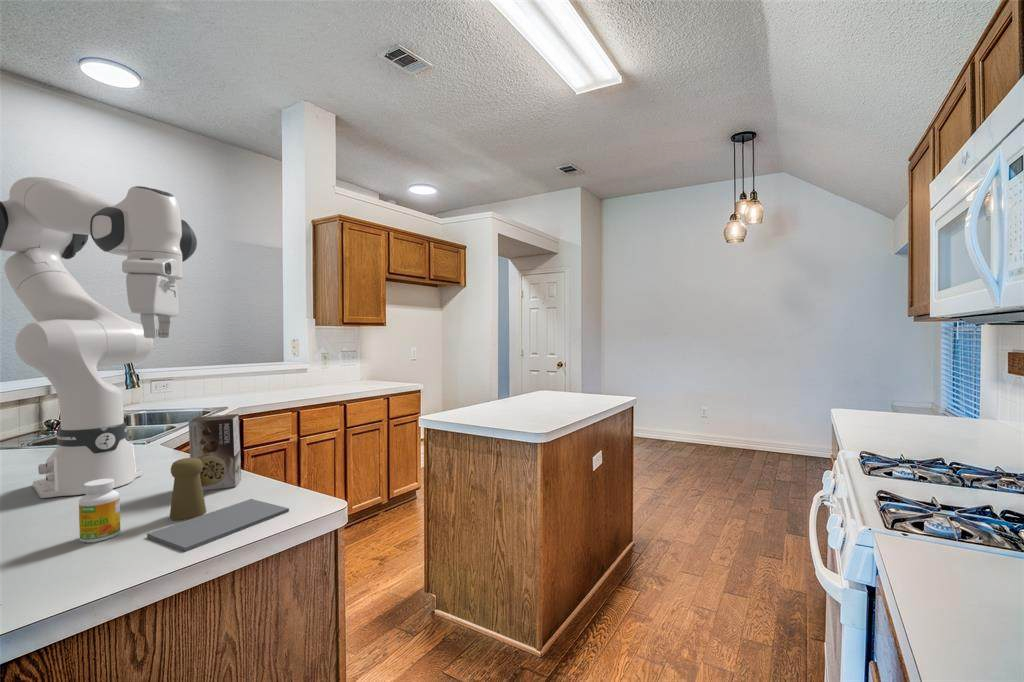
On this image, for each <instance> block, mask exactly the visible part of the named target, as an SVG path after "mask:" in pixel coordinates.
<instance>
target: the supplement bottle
mask: <svg viewBox="0 0 1024 682" xmlns="http://www.w3.org/2000/svg"><path fill="white" fill-rule="evenodd" d="M84 493H86V494H84V495H83V496H82V497H80V499H79V501H78V516H79V517H78V521H79V540H80V542H82V543H84V542H87V544H90V543H89V542H93V543H97V542H98V541H99V542H101V541H102V540H103V541H106V539H107V540H110V539H112V538H115V537H116V536H118V535H119V534H120V532H121V507H120V506H121V502H120V501H121V499H120V493H119V491H117V490H115V488H114V479H98V480H94V481H90V482H87V483H85V484H84ZM114 536H115V537H114ZM109 538H110V539H109ZM103 541H102V542H103Z"/></svg>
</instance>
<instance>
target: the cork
mask: <svg viewBox="0 0 1024 682" xmlns="http://www.w3.org/2000/svg"><path fill="white" fill-rule="evenodd" d="M202 469H203V463H202V461H201V460H200V459H198V458H190V457H186V458H185V457H184V458H181V459H178V460H175V461H173V463H172V464H171V467H170V473H171V476H172V477H173V478H174V480H173V487H172V495H171V496H172V497H171V503H170V511H169V516H168V517H169V520H171V521H174V522H183V521H186V520H189V519H192V518H195V517H198V516H201V515H204V514H207V507H206V502H205V496H204V490H202V484H201V479H200V473H201V471H202Z"/></svg>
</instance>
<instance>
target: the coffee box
mask: <svg viewBox="0 0 1024 682" xmlns="http://www.w3.org/2000/svg"><path fill="white" fill-rule="evenodd" d="M240 432H241V431H240V414H239V413H235V414H233V413H231V414H218V415H217V414H215V415H206V416H205V415H204V416H196V417H194V418H193V419H191V420H189V421H188V440H189V443H188V444H189V458H198V459H200V460H201V461H202V463H203V469H202V471H201V473H200V479H201V484H202V490H203V491H210V490H219V489H228V488H236V487H237V486H238V485H239V483H240V482H241V481H242V461H241V460H242V459H241V436H240V434H241V433H240Z"/></svg>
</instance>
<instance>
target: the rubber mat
mask: <svg viewBox="0 0 1024 682" xmlns="http://www.w3.org/2000/svg"><path fill="white" fill-rule="evenodd" d="M288 511H289V512H290V508H289V507H285V506H283V505H282V506H281V505H277V504H273V503H270V502H266V501H262V500H258V499H253V498H250V499H246V500H244V501H241V502H238V503H237V502H236V503H234V504H232V505H229V506H226V507H222V508H220V509H217V510H215V511H211V512H208V513H207V512H206V513H205V514H203V515H201V516H198V517H195V518H192V519H189V520H183V521H179V522H178V523H175V524H172V525H169V526H166V527H163V528H160V529H157V530H154V531H151V532H148V533H146V537H147V538H149V539H150V540H151V539H152V540H155V541H157V542H160V543H162V544H164V545H167V546H170V547H173V548H175V549H177V550H181V551H183V552H188V551H190V550H193V549H195V548H198V547H200V546H203V545H205V544H208V543H212V542H214V541H216V540H219V539H222V538H224V537H226V536H229V535H231V534H234V533H237V532H240V531H242V530H245V529H246V528H250V527H253V526H255V525H257V524H260V523H263V522H266V521H269V520H270V518H271V519H272V518H275V517H279V516H280V514H281V515H284V514H285V513H288Z"/></svg>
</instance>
